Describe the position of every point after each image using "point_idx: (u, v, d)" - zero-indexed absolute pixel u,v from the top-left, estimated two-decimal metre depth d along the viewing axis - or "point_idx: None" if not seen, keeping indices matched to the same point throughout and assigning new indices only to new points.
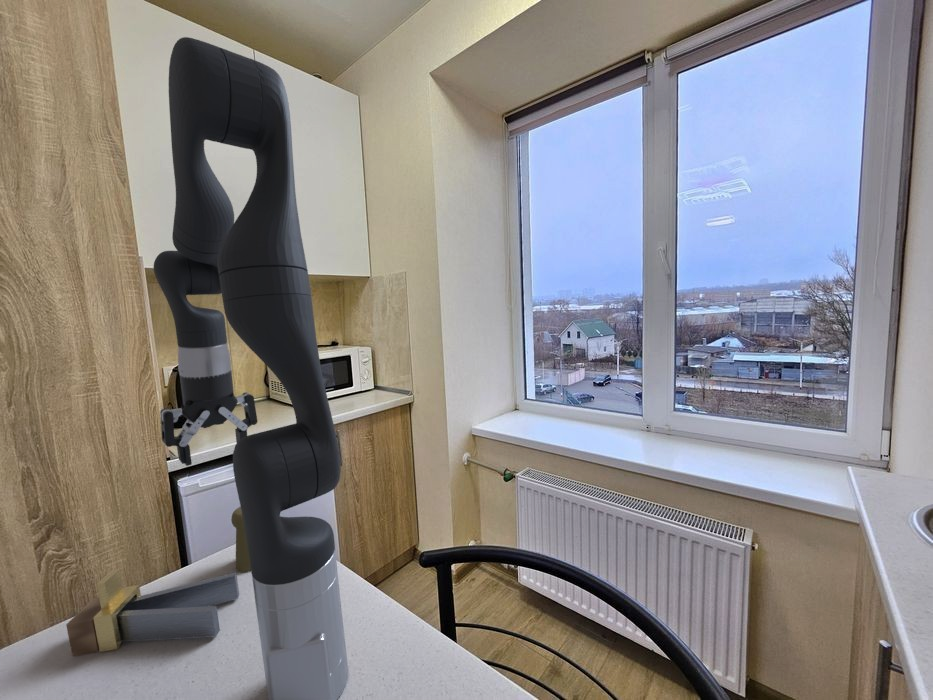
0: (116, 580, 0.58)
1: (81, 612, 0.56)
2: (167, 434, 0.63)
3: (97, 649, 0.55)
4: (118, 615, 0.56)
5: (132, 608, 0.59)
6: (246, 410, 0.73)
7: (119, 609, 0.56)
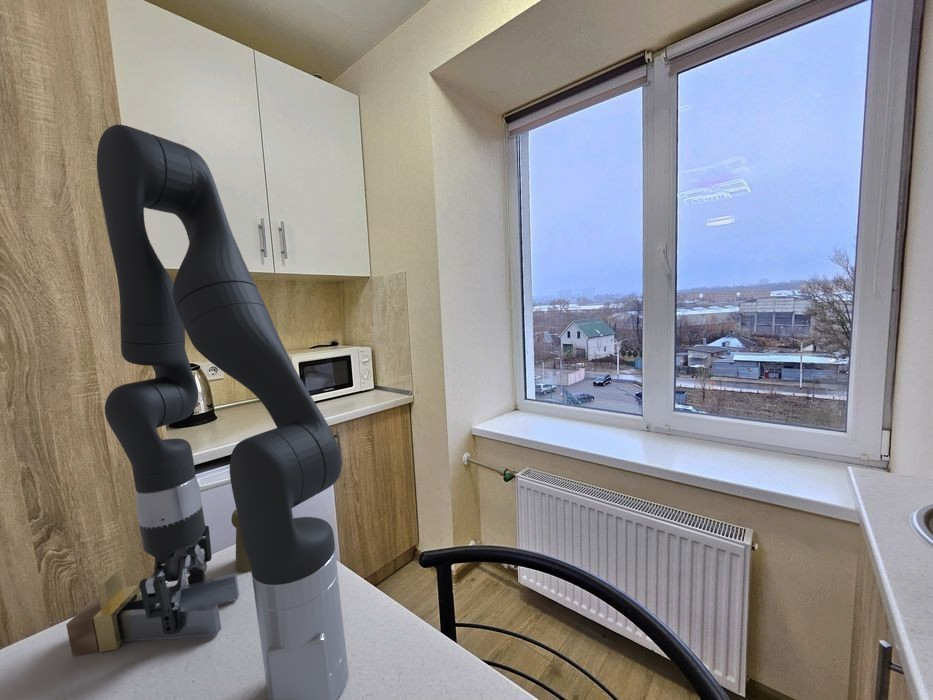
0: (116, 580, 0.58)
1: (81, 612, 0.56)
2: (165, 602, 0.53)
3: (97, 649, 0.55)
4: (118, 615, 0.56)
5: (132, 608, 0.59)
6: None
7: (119, 609, 0.56)
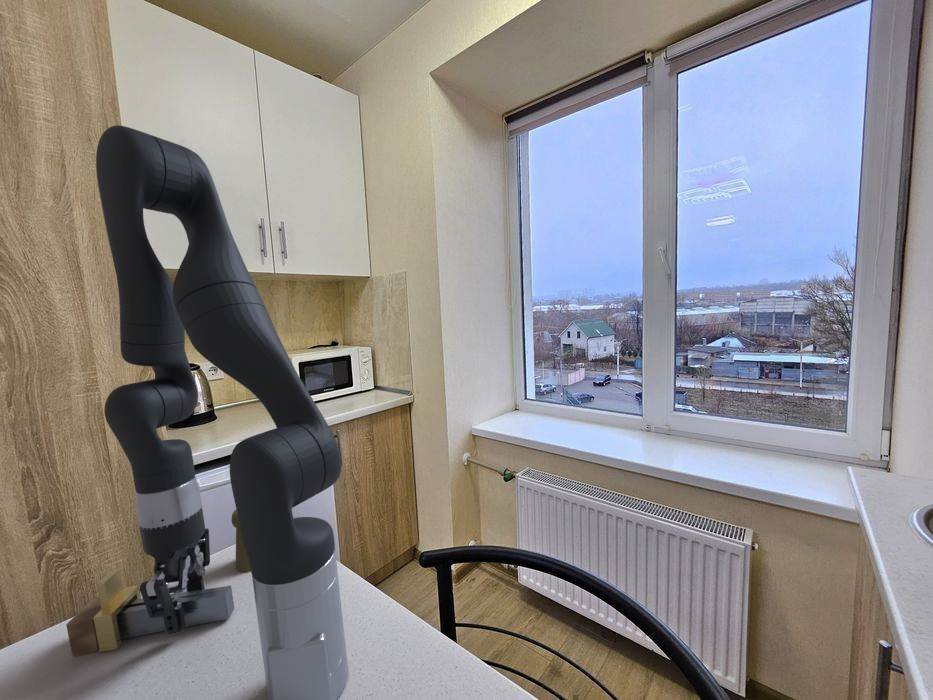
0: (116, 580, 0.58)
1: (81, 612, 0.56)
2: (167, 603, 0.53)
3: (97, 649, 0.55)
4: (123, 612, 0.57)
5: None
6: None
7: (119, 609, 0.56)
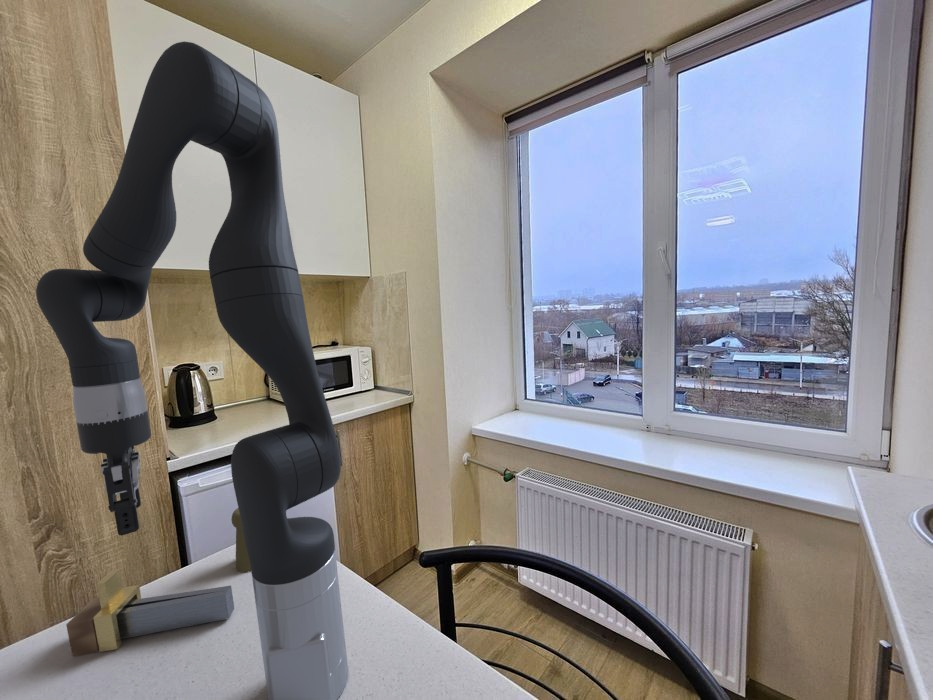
0: (116, 580, 0.58)
1: (81, 612, 0.56)
2: (132, 490, 0.52)
3: (97, 649, 0.55)
4: (123, 612, 0.57)
5: None
6: None
7: (119, 609, 0.56)
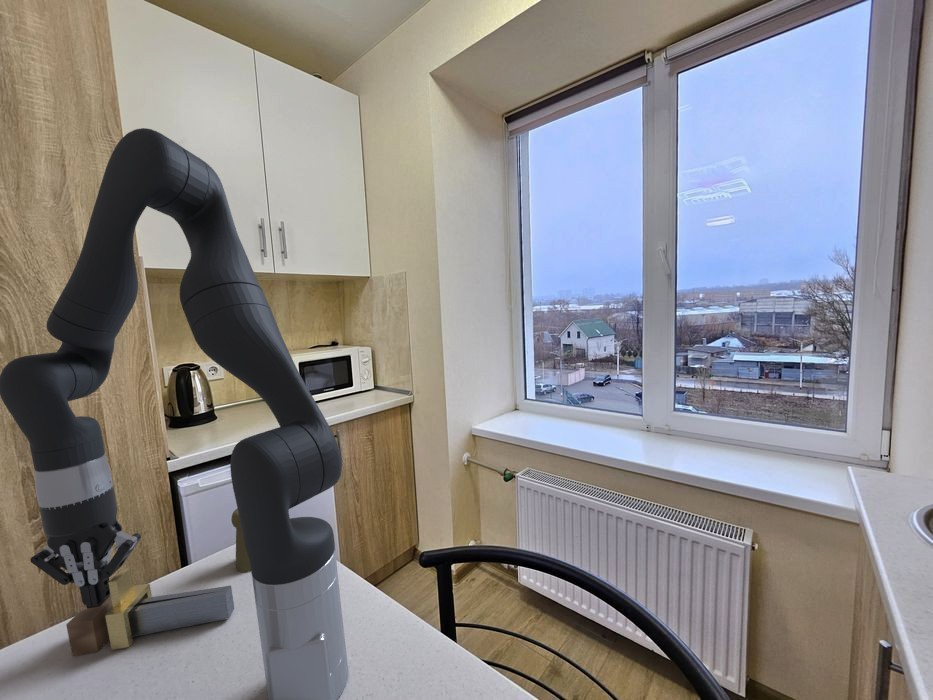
0: (127, 578, 0.58)
1: (81, 612, 0.56)
2: None
3: (97, 649, 0.55)
4: None
5: None
6: (61, 562, 0.55)
7: (130, 607, 0.57)
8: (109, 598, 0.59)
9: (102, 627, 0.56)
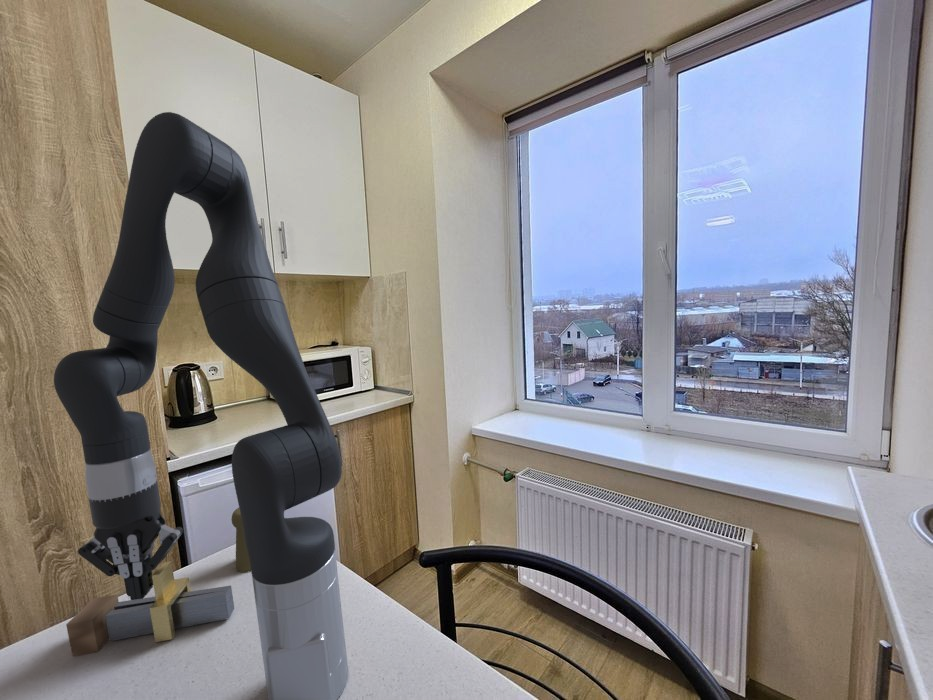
0: (169, 572, 0.59)
1: (81, 612, 0.56)
2: None
3: (97, 649, 0.55)
4: (123, 612, 0.57)
5: None
6: (106, 554, 0.56)
7: (173, 600, 0.58)
8: (109, 598, 0.59)
9: (102, 627, 0.56)
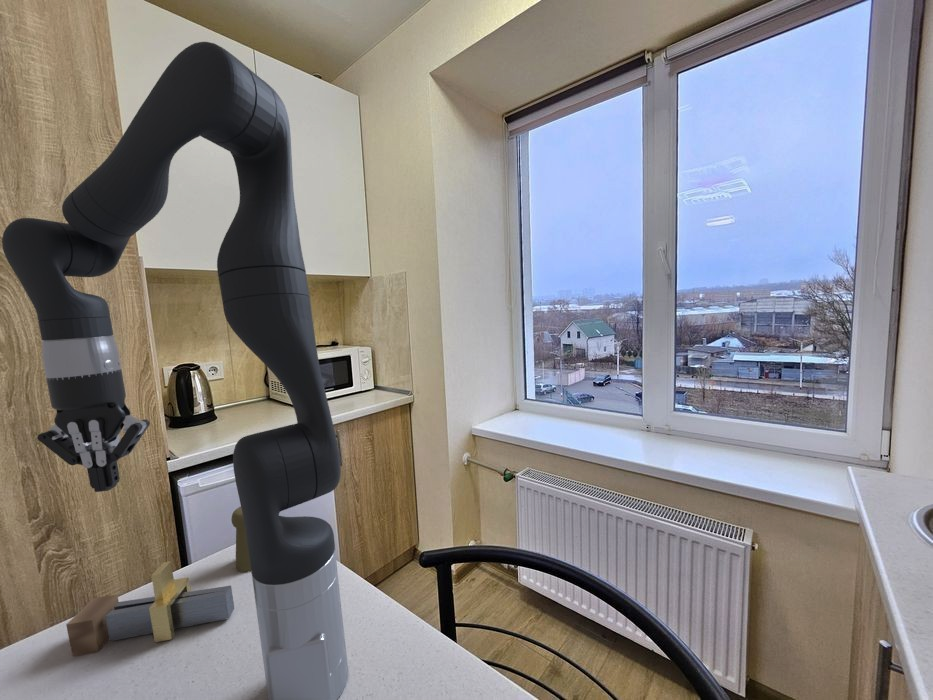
0: (168, 572, 0.59)
1: (81, 612, 0.56)
2: None
3: (97, 649, 0.55)
4: (123, 612, 0.57)
5: None
6: (69, 444, 0.54)
7: (172, 600, 0.58)
8: (109, 598, 0.59)
9: (102, 627, 0.56)
